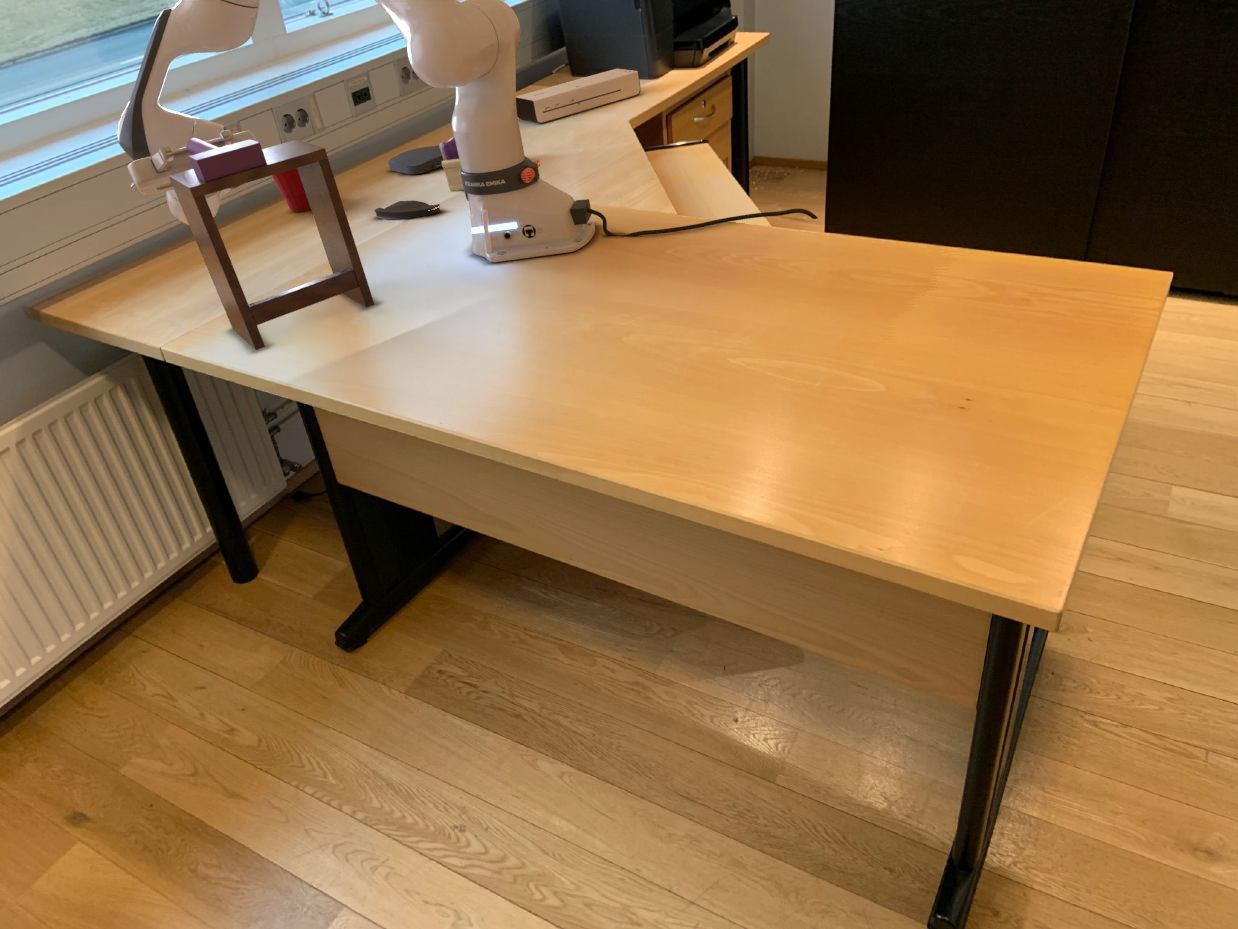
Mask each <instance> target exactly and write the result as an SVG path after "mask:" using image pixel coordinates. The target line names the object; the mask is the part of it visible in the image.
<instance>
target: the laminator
mask: <svg viewBox="0 0 1238 929" xmlns="http://www.w3.org/2000/svg"><path fill="white" fill-rule="evenodd" d="M640 93H641V81H640V73H639V71H638V70H633V69H627V68H626V69H625V68H618V67H617V68H614V69H610V70H606V71H602V72H599V73H596V74H592V75H589V76H584V77H581V78H577V79H573V80H570V81H566V82H563V83H560V84H556V85H552V86H549V87H545V88H540V89H537V90H534V91H530V92H526V93H523V94H520V95H516V108H517V117H518V120H519V119H520V120H526V121H530V122H533V123H537V124H541V125H542V124H546V123H549V122H553V121H556V120H559V119H563V118H566V117H569V116H570V117H571V116H572V115H576V114H577V115H578V114H580V113H584V112H586V111H589V110H594V109H597V108H600V107H603V106H608V105H609V104H610V105H611V104H615V103H617V102H621V101H624V100H627V99H631V98H634V97H637V96H638V95H640Z"/></svg>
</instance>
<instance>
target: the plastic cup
mask: <svg viewBox="0 0 1238 929" xmlns="http://www.w3.org/2000/svg"><path fill="white" fill-rule="evenodd" d="M270 177H271V178H272V179H273V181H274V182H275V185H276V186H277V188H278V190H279V192H280V193H281V195H282V197H283V198H284V200H285V202H286V204H287V206H288V207H289V209H290V210H291V211H292V212H294V213H299V212H300V213H301V212H305V211H309V210H311V208H310V205H309V202H308V199H307V196H306V193H305V190H304V187H303V184H302V181H301V178H300V175H299V172H298V169H297V168H295V169H291V170H288V171H285V172H281V173H278V174H274V175H271V176H270Z"/></svg>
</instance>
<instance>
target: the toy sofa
mask: <svg viewBox="0 0 1238 929" xmlns="http://www.w3.org/2000/svg"><path fill="white" fill-rule="evenodd" d="M438 145H439V147H440V151H441V153H442V156H443V160H444V161H442V168H443V171H444V173H445V177H446V181H447V185H448V189H449V191H450V192H456V191H464V189H463V185H462V179H461V174H460V170H461V168H462V167H461V163H460V159H459V155H458V150H457V146H456V142H455V138H454V135H452V136H451V137H450V138H449V139H448V140H447V141H440V142H439V143H438Z"/></svg>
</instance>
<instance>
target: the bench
mask: <svg viewBox="0 0 1238 929" xmlns="http://www.w3.org/2000/svg"><path fill="white" fill-rule="evenodd" d="M262 150H263V153H264V156H265V159H266V162H267V164H265V165H262V166H258V167H255V168H251V169H248V170H245V171H241V172H238V173H234V174H231V175H227V176H224V177H221V178H217V179H214V180H210V181H207V182H205V181H203V180H201V179H199V178H197V176H196V174H195V172H194V169H191V170H188V171H184V172H181V173H177V174H174V175H170V176H169V178H170V181H171V183H172V185H173V188H174V190H175V193H176V195H177V197H178V200H179V202H180V204H181V207H182V209H183V212H184V214H185V216H186V219H187V221H188V223H189V225H188V226H189V228H190V230H191V233H192V235H193V237H194V240H195V242H196V245H197V247H198V249H199V252H200V254H201V256H202V260H203V262H204V263H205V266H206V269H207V271H208V273H209V276H210V278H211V281H212V283H213V285H214V287H215V290H216V293H217V295H218V297H219V299H220V302H221V304H222V306H223V309H224V311H225V314H226V316H227V319H228V321H229V323H230V327H231V328H232V330H233V332H235V333H236V334H237V335H238V336H239V337H241V338H242V339H243V340H244V341H245V342H246V343H247V344H248V345H250V346H251V348H252V349H254V350H255V351H257V350H260V349H263V348H265V347H266V345H265V342H264V339H263V337H262V335H261V333H260V330H259V328H258V326H259V325H261V324H265V323H267V322H270V321H273V320H275V319H278V318H281V317H283V316H285V315H288V314H291V313H294V312H296V311H299V310H302V309H305V308H307V307H310V306H312V305H315V304H318V303H321V302H324V301H327V300H329V299H331V298H334V297H336V296H339V295H342V294H344V295H345V296H347V297H348V298H350V299H352V300H353V301H355V302H357V303H358V304H360V305H361V306H363V307H364V308H369V307H372V306H375V301H374V298H373V295H372V292H371V289H370V285H369V282H368V279H367V276H366V273H365V270H364V267H363V264H362V261H361V260H362V259H361V257H360V254H359V251H358V247H357V245H356V241H355V239H354V236H353V232H352V229H351V226H350V223H349V220H348V217H347V214H346V210H345V207H344V204H343V201H342V197H341V194H340V192H339V188H338V185H337V182H336V179H335V176H334V172H333V170H332V167H331V163H330V160H329V156H328V154H327V151H326V148H325V147H322V146H318V145H316V144H313V143H309V142H306V141H303V140H300V139H294V140H290V141H286V142H284V143H279V144H276V145H272V146H269V147H265V148H262ZM295 168H297V169H298V172H299V175H300V178H301V181H302V184H303V187H304V190H305V193H306V196H307V199H308V202H309V205H310V208H311V209H310V210H311V214H312V216H313V219H314V222H315V225H316V228H317V231H318V233H319V237H320V240H321V243H322V246H323V249H324V252H325V254H326V258H327V261H328V263H329V266H330V269H331V273H332V274H328V275H326V276H323V277H320V278H318V279H314V280H313V281H309V282H307V283H304V284H301V285H298V286H296V287H293V288H289V289H287V290H285V291H281V292H279V293H276V294H273V295H271V296H267V297H264V298H262V299H260V300H257V301H254V302H252V303H249V302H248V300H247V298H246V295H245V292H244V290H243V288H242V285H241V283H240V280H239V277H238V275H237V273H236V269H235V268H234V266H233V263H232V260H231V257H230V255H229V253H228V251H227V248H226V246H225V243H224V240H223V239H222V235H221V233H220V231H219V228H218V225H217V223H216V221H215V217H214V218H213V216H212V213H211V211H210V208H209V206H208V203H207V201H206V198H205V196H204V195H208V194H211V193H214V192H218V191H221V190H224V189H228V188H231V187H234V186H238V185H240V186H242V185H241V184H243V185H245V184H247V183H251V182H255V181H257V180H262V179H264V178H267V177H272V176H271V175H274V174H278V173H281V172H285V171H288V170H291V169H295ZM244 183H245V184H244ZM238 187H239V186H238Z"/></svg>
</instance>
